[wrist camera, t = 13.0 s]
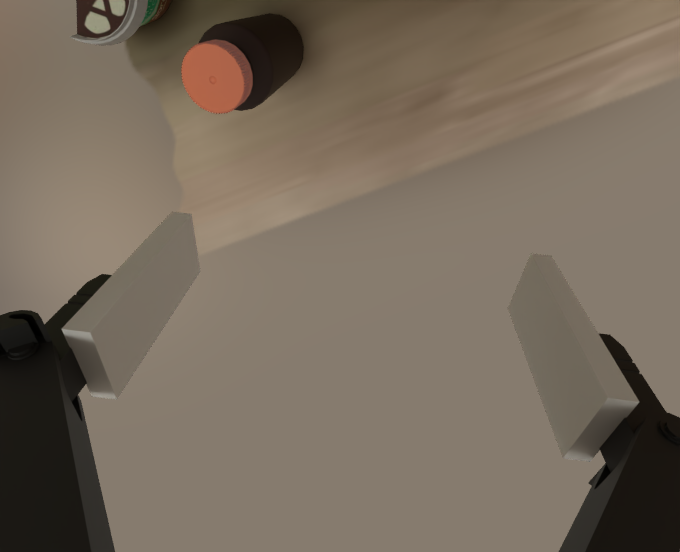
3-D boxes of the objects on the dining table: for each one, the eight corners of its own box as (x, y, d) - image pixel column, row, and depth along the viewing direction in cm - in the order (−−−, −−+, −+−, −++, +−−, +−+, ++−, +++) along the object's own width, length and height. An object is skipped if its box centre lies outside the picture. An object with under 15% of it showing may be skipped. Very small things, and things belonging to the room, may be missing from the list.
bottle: (235, 27, 46) (149, 48, 29) (289, 2, 44) (229, 10, 28) (262, 89, 49) (198, 138, 33) (313, 68, 47) (272, 109, 31)
